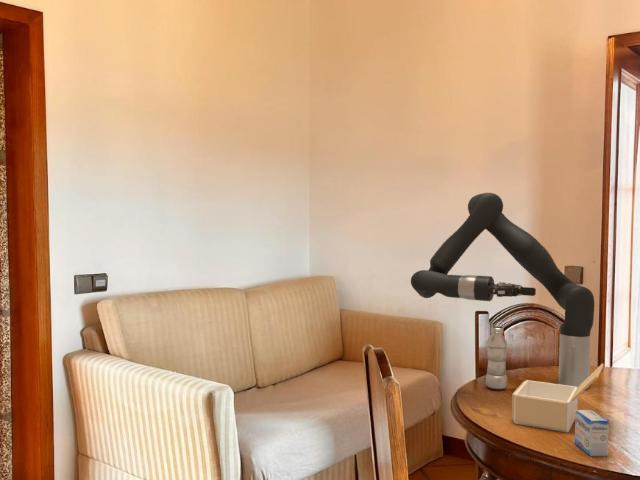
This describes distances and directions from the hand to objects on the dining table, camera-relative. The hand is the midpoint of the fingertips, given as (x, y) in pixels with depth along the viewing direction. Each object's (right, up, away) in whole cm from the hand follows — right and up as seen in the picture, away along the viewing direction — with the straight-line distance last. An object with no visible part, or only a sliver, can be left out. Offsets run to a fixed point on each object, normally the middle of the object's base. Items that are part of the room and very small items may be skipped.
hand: (535, 291), depth 183 cm
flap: (+9, -23, -14) cm, 28 cm away
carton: (0, -35, -8) cm, 36 cm away
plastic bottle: (-6, -33, +20) cm, 39 cm away
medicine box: (+3, -36, -30) cm, 47 cm away
